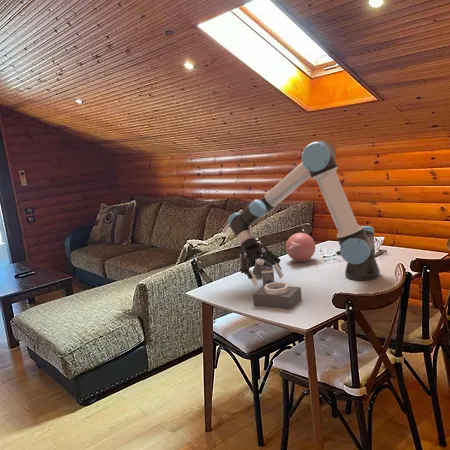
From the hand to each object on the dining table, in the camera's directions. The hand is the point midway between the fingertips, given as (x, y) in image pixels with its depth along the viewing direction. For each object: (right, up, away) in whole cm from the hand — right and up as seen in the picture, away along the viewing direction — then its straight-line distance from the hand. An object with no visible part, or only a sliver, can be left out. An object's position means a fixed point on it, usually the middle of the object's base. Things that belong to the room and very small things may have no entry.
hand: (269, 280), depth 195 cm
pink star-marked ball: (+20, +4, +43) cm, 47 cm away
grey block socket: (+2, -7, -12) cm, 14 cm away
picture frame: (+55, +8, +47) cm, 72 cm away
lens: (0, -5, +2) cm, 5 cm away
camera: (0, 0, +32) cm, 32 cm away
